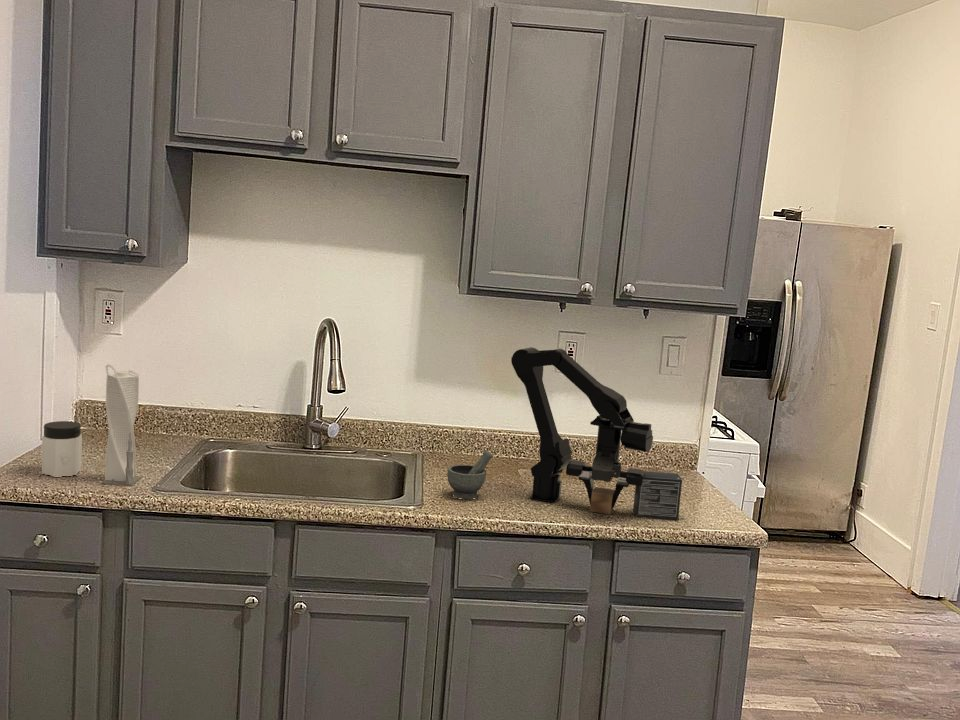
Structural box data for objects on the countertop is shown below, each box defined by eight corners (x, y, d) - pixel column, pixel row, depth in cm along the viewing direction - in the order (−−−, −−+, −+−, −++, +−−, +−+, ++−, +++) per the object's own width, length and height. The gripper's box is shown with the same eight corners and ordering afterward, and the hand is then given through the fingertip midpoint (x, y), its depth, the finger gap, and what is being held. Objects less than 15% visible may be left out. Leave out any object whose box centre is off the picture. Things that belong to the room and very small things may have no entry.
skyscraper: (95, 483, 221) (98, 366, 217) (108, 474, 229) (111, 361, 225) (131, 486, 221) (134, 369, 217) (143, 477, 229) (146, 364, 225)
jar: (45, 479, 221) (46, 429, 220) (38, 470, 228) (38, 422, 226) (85, 475, 227) (86, 427, 225) (77, 467, 233) (78, 420, 231)
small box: (674, 512, 236) (678, 472, 234) (678, 521, 229) (683, 479, 228) (632, 509, 236) (636, 469, 234) (635, 517, 230) (640, 476, 228)
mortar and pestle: (448, 501, 230) (452, 454, 228) (442, 490, 239) (446, 444, 237) (493, 502, 232) (497, 455, 230) (486, 491, 241) (490, 446, 239)
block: (589, 511, 231) (591, 491, 230) (593, 505, 235) (595, 486, 235) (610, 514, 229) (612, 494, 229) (612, 509, 234) (614, 489, 233)
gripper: (564, 446, 225) (558, 508, 227) (642, 457, 220) (635, 521, 222) (573, 437, 235) (567, 497, 238) (647, 447, 231) (641, 508, 233)
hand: (601, 506), depth 232 cm, fingers closed on block, 5 cm apart
